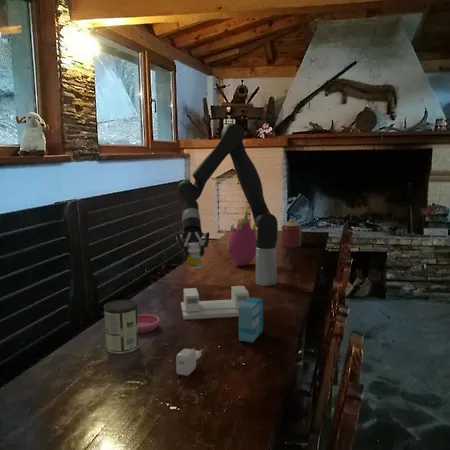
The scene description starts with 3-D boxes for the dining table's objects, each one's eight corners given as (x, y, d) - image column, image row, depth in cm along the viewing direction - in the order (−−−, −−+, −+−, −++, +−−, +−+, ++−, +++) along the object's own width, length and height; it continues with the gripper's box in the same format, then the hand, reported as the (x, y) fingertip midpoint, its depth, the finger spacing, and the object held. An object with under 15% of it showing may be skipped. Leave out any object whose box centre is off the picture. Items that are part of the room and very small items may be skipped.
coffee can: (116, 339, 159) (115, 298, 157) (144, 343, 156) (143, 301, 154) (98, 351, 150) (96, 307, 148) (128, 356, 146) (126, 311, 144)
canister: (281, 243, 319) (281, 217, 316) (300, 244, 317) (301, 217, 314) (280, 247, 306) (280, 220, 303) (301, 248, 304) (301, 220, 301)
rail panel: (244, 302, 197) (244, 283, 196) (253, 315, 181) (253, 295, 180) (180, 305, 193) (180, 286, 192) (183, 319, 178) (183, 298, 176)
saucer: (125, 336, 162) (125, 327, 161) (122, 324, 174) (122, 315, 173) (162, 332, 165) (162, 324, 165) (157, 320, 177) (157, 312, 176)
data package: (251, 344, 155) (251, 308, 153) (238, 342, 157) (238, 306, 155) (263, 331, 166) (263, 297, 164) (250, 329, 168) (250, 296, 166)
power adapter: (191, 358, 144) (190, 340, 143) (206, 361, 143) (205, 342, 142) (173, 374, 134) (173, 354, 133) (189, 377, 132) (189, 357, 131)
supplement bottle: (187, 265, 197) (187, 242, 196) (201, 265, 198) (200, 241, 196) (187, 268, 192) (186, 244, 190) (201, 268, 192) (200, 244, 191)
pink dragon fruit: (253, 261, 268) (253, 208, 264) (262, 267, 256) (262, 210, 251) (222, 264, 263) (222, 209, 258) (230, 270, 250) (230, 212, 246)
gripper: (174, 216, 198) (176, 251, 188) (209, 215, 200) (213, 249, 190) (174, 227, 204) (176, 261, 194) (208, 226, 206) (211, 259, 196)
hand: (194, 255), depth 192 cm, fingers closed on supplement bottle, 5 cm apart
